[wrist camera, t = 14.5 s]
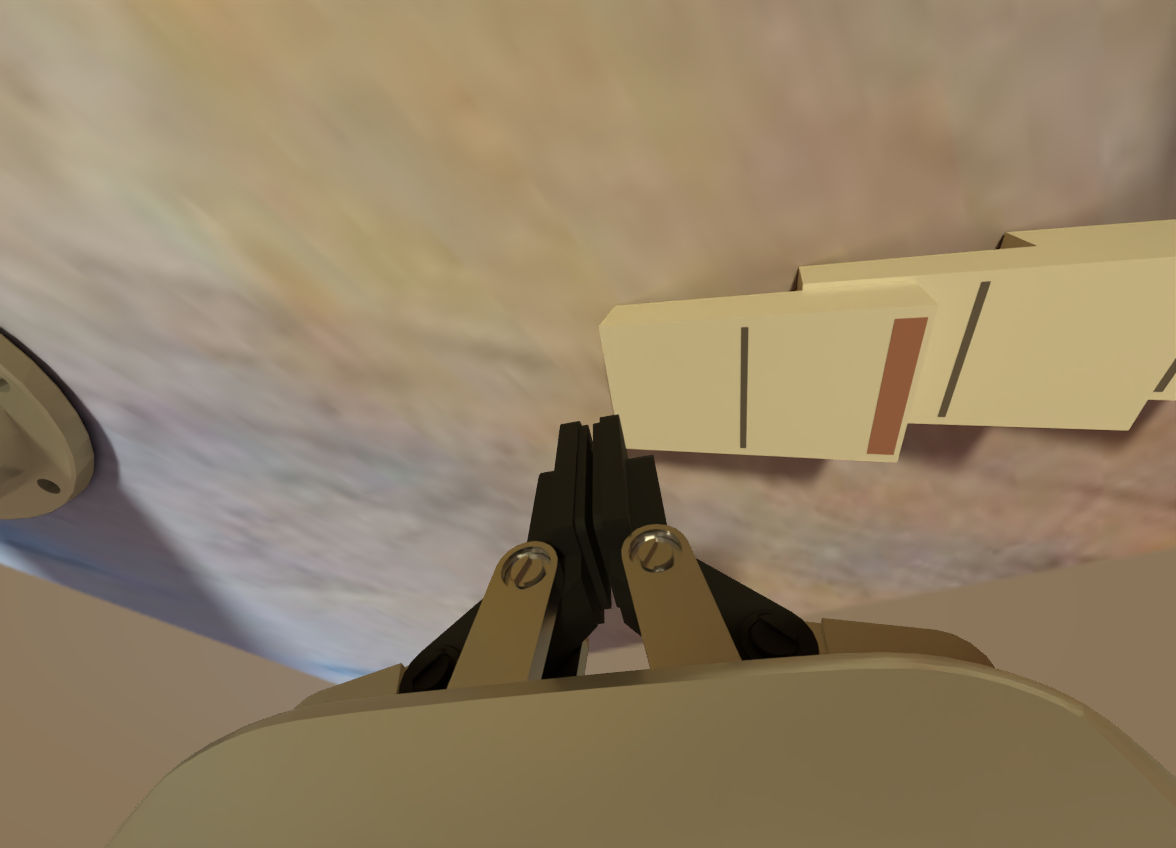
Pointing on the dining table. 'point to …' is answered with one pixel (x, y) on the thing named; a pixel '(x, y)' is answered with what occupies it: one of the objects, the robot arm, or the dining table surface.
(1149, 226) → the domino
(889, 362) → the domino
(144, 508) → the dining table surface
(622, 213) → the dining table surface
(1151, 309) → the domino
